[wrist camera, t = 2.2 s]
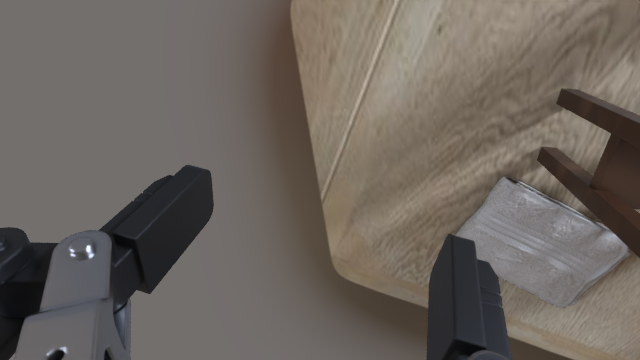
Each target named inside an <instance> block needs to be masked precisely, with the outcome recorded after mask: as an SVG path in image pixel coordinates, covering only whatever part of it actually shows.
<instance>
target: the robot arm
mask: <svg viewBox="0 0 640 360" xmlns="http://www.w3.org/2000/svg"><path fill="white" fill-rule="evenodd" d="M213 204H214V203H213V191H212V178H211V173H210V171H209V170H207V169H202V168H199V167H195V166H191V165H186V166H184V167H183V168H182V169H181V170H180V171H179V172H178V173H176V174H175V175H174V176H171V175H168V176H166V177H164V178H162V179H160V180H157V181H155V182H154V183H152V184H151V185H150V186H149V187H148V188H147V189H146V190H144V191H143V194H142V193H141V194H140V195H139V196H138V197H136V198H135V200H134V201H132V202H131V203H130V204H128V205H127V206H126V207H125V208H124V209H123V210H121V211H120V212H119V213H118V214H117V215H116V216H115V217H113V218H112V219H111V220H110V221H109V222H108V223H107V224H106V225H105V226H103V227H102V228H101V229H100V230H98V231H96V230H90V231H83V232H79V233H75V234H73V235H71V236H69V237H67V238H65V239H64V240H62V241H61V242H60V243H30V241H29V239H28V237H27V235H26V233H24V231H22V230H20V229H18V228H10V227H8V228H0V360H9V359H10V358H11V357H12V355H13V354H14V353H15V352H16V353H15V357H14V360H131V358H130V339H131V337H130V335H131V300H130V297H131V296H132V294H133V293H134V292H135V291H136V290H139V291H142V292H145V293H148V294H150V293H151V292H152V291H153V290H154V288H155V287H156V286H157V285H158V283H159V282H160V281H161V280H162V278H163V277H164V276H165V275H166V273H167V272H168V271H169V270H170V269H171V267H172V266H173V265H174V263H175V262H176V261H177V260H178V259H179V257H180V256H181V255H182V254H183V252H184V251H185V250H186V249H187V247H188V246H189V245H190V244H191V242H192V241H193V240H194V239H195V237H196V236H197V235H198V234H199V232H200V231H201V230H202V229H203V227H204V226H205V225H206V224H207V222H208V221H209V219H210V217H211V215H212V212H213V206H214V205H213ZM502 306H503V305H502V299H501V296H500V287H499V281H498V277H497V275H496V273H495V272H494V270H493V268H492V267H491V265H490V264H489V262H487V261H483V260H479V259H477V255H476V246H475V242H474V241H473V240H470V239H466V238H462V237H459V236H455V235H451V234H449V235H448V236H447V237H446V239H445V241H444V244H443V246H442V248H441V250H440V253H439V255H438V257H437V259H436V262H435V264H434V266H433V269H432V272H431V276H430V282H429V302H428V333H427V334H428V335H427V360H512V358H511V353H510V347H509V341H508V335H507V329H506V323H505V317H504V311H503V308H502Z"/></svg>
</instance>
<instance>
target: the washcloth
mask: <svg viewBox="0 0 640 360" xmlns="http://www.w3.org/2000/svg"><path fill="white" fill-rule="evenodd" d="M455 236H459V237H462V238H466V239H470V240H473V241H474V242H475V246H476V255H477V259H479V260H483V261H487V262H489V264H490V265H491V267H492V268H493V270H494V272H495V273H496V275H497V276H499V277H500V278H501V279H503V280H506V281H508V282H511V283H512V284H514V285H516V286H517V287H519V288H522V289H524V290H526V291H528V292H529V293H532V294H533V295H536V296H538V297H539V298H541V299H543V300H544V301H545V302H548V303H550V304H552V305H554V306H556V307H559V308H565V307H566V306H568V305H573V304H575V303H576V302H577V300H578V298H579V297H580V296H581V295H582V294H583V293H584V292H585V291H586V290H587V289H588V288H590V287H591V286H593V285H594V284H595V283H596V282H597V281H599V280H600V279H601V278H602V277H604V276H605V275H606V274H608V273H609V272H610V271H612V270H613V269H614V268H615V267H616V266H617V265H619V264H620V263H621V262H622V261H623V260H624V259H625V258H627V257H629V256H630V254H631V253H630V252H629V251H628V249H629V248H628V246H627V245H626V244H624V243H623V242H622V241H621V240H620V239H619V238H618V237H617V236H616V235H615V234H614V233H613V232H612V231H611V230H610V229H609V228H607V227H606V226H604V225H602V224H601V223H599V222H597V221H595V220H593V219H591V218H588V217H586V216H584V215H583V214H581V213H579V212H577V211H576V210H574V209H572V208H570V207H568V206H566V205H564V204H563V203H561V202H559V201H557V200H554V199H552V198H551V197H549V196H547V195H545V194H543V193H541V192H539V191H537V190H535V189H534V188H532V187H530V186H528V185H526V184H524V183H522V182H520V181H518V180H516V179H515V178H512V177H510V176H504V177H503V178H501V179H500V180H499V181H498V183H497V184H496V185H495V186H494V188H493V189H492V191H490V193H489V194H488V196H487V198H486V200H485V202H484V204H483V205H482V206H481V207H480V208H479V210H477V211H476V212H475V214H474V215H473V216H472V217H469V219H468V220H467V221H466V222H465V223H464V225H463V226H462V227H461V228H460V229H459V231H458V232H457V233H456V235H455Z"/></svg>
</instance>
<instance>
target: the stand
mask: <svg viewBox="0 0 640 360" xmlns="http://www.w3.org/2000/svg"><path fill="white" fill-rule="evenodd" d="M556 104H558V105H560V106H562V107H564V108H565V109H567V110H569V111H571V112H573V113H575V114H576V115H578V116H580V117H582V118H584V119H586V120H588V121H589V122H591V123H593V124H595V125H597V126H599V127H600V128H602V129H604V130H606V131H608V132H610V133H611V136H610V138H609V141H608V143H607V145H606V148H605V150H604V152H603V155H602V157H601V159H600V162H599V164H598V166H597V169H596V171H595V174H594V176H593V177H592V176H591V175H590V174H589V173H587V172H586V171H585V170H584V169H582V168H581V167H580V166H578V165H577V164H576V163H575V162H573V161H572V160H571V159H570V158H568V157H567V156H566V155H565V154H563V153H562V152H561V151H559V150H558V149H557V148H550V147H541V150H540V153H539V156H538V158H537V160H538V161H539V162H540V163H541V164H542V165H543V166H544V167H545V168H546V169H547V170H548V171H549V172H550V173H551V174H552V175H554V176H555V177H556V178H557V179H558V180H559V181H560V182H561V183H562V184H563V185H564V186H565V187H566V188H567V189H568V190H569V191H570V192H571V193H572V194H573V195H574V196H575V197H576V198H578V199H579V200H580V201H581V202H582V203H583V204H584V205H585V206H586V207H587V208H588V209H589V210H590V211H591V212H592V213H593V214H594V215H595V216H596V217H597V218H598V219H599V220H600V221H602V222H603V223H604V224H605V225H606V226H607V227H608V228H609V229H610V230H611V231H612V232H613V233H614V234H615V235H616V236H617V237H618V238H619V239H620V240H621V241H622V242H623V243H624V244H626V245H627V246H628V247H629V248H630V249H631V250H632V251H633V252H634V253H635V254H636V255H637V256H638V257H639V258H640V214H639V213H638V212H637V211H635V210H634V209H640V116H639V115H637V114H634V113H632V112H630V111H627V110H625V109H622V108H620V107H618V106H615V105H613V104H610V103H608V102H606V101H603V100H601V99H598V98H596V97H594V96H591V95H589V94H586V93H584V92H582V91H579V90H574V89H561V91H560V94H559V97H558V100H557V103H556Z"/></svg>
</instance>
